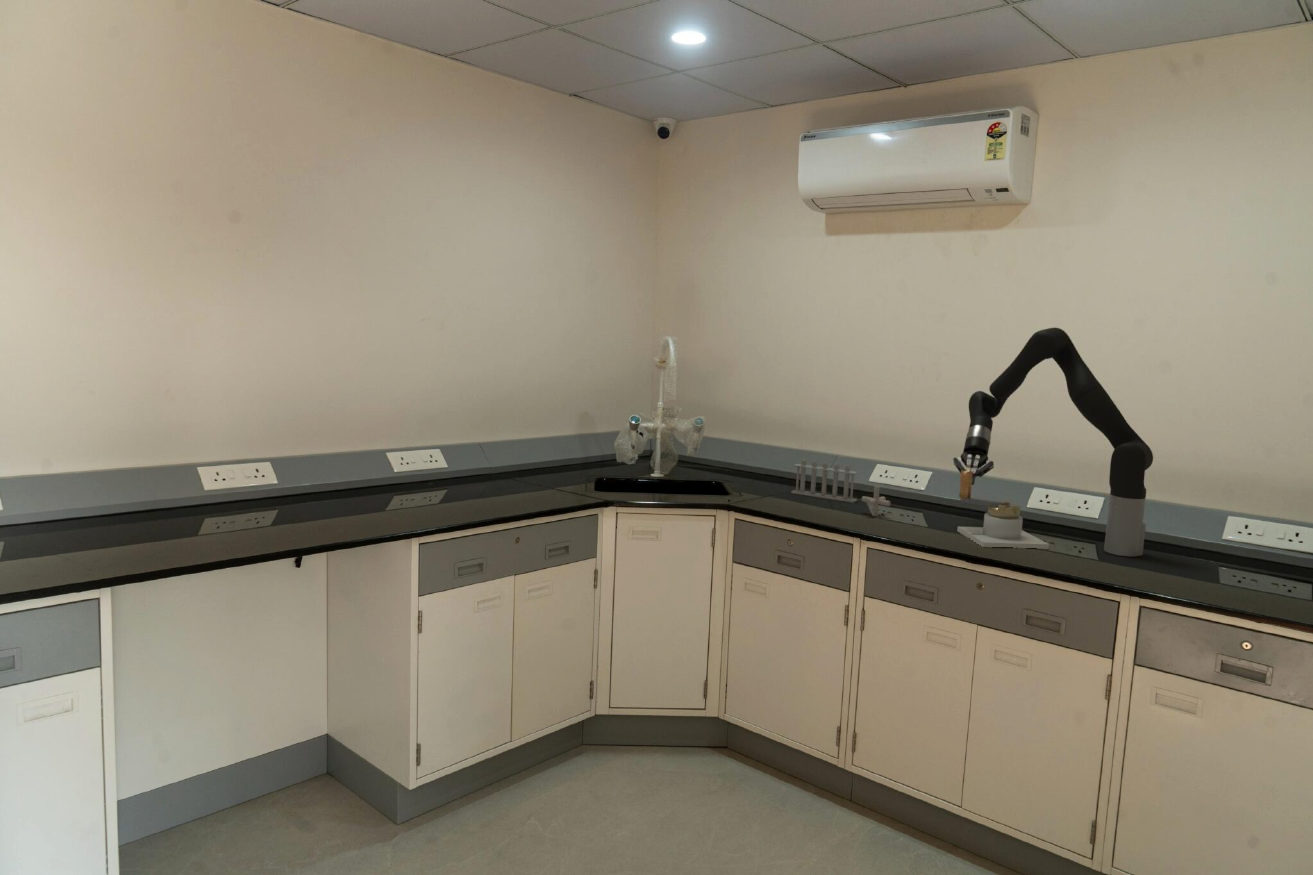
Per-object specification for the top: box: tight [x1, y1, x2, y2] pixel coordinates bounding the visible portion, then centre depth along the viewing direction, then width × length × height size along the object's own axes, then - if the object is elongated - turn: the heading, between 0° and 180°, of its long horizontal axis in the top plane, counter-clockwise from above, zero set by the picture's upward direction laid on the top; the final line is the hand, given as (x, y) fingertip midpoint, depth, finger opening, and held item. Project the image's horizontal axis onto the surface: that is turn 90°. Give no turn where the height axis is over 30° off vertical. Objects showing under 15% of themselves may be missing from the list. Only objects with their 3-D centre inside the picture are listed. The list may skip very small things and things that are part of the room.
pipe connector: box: [861, 485, 891, 517], centre depth 292 cm, size 10×10×10 cm
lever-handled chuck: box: [958, 470, 1022, 519], centre depth 265 cm, size 18×9×12 cm, turn 56°
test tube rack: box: [790, 459, 860, 504], centre depth 321 cm, size 25×4×13 cm, turn 55°
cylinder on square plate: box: [956, 512, 1050, 550], centre depth 263 cm, size 20×20×8 cm
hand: (968, 484), depth 270 cm, fingers closed
